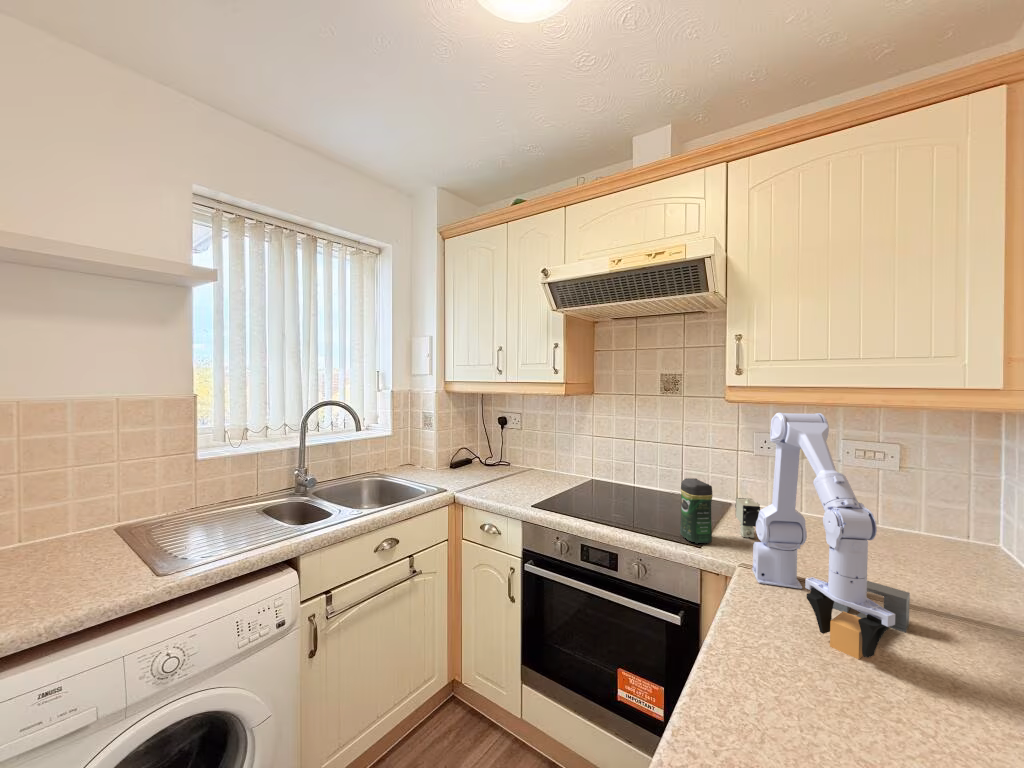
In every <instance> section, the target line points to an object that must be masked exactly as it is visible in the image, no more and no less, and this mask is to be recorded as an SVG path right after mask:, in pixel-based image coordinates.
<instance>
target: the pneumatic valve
mask: <svg viewBox="0 0 1024 768" xmlns="http://www.w3.org/2000/svg"><path fill="white" fill-rule="evenodd" d="M734 505H735V506H734V507H735V518H736V519H737V520H738V521H739V522H740V524H739V526H740V529H739V530H740V531H739V534H740V535H741V537H742V538H743V537H745V538H748V537H750V538H751V539H755V535H754V534H755V531H756V521H757V519H758V515H759V511H760V510H761V507H760V503H759V502H755V501H754V500H753V499H752V498H748V497H747V498H746V497H745V498H744V497H736V498H735V504H734Z"/></svg>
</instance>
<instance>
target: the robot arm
mask: <svg viewBox="0 0 1024 768" xmlns="http://www.w3.org/2000/svg"><path fill="white" fill-rule="evenodd" d="M769 430H770V432H769V438H770V439H769V440H770V443H774V444H775V456H774V472H773V482H772V483H773V484H772V485H773V487H772V500H771V504H768V505H767V506H765V507H763V508H760V511H759V515H758V519H757V521H756V527H755V533H756V535H757V538H758V540H759V541H754V542H753V546H752V569H751V570H752V572H753V575H754V576H755V579H756V581H757V582H758V583H759V584H764V585H772V586H779V587H784V588H785V587H786V588H792V589H800V590H801V589H803V585H802V584H801V582H800V581H799V580H798V578H797V577H798V550H801V546H803V545H804V544H805V543H806V541H807V538H808V534H807V533H808V532H807V527H806V518H805V516H803V514H802V513H801V512H799V510H797V509H796V503H797V493H798V491H797V490H798V477H799V465H800V454H801V453H800V452H801V450H802V452H803V455H805V457H806V459H807V461H808V463H809V465H810V466H811V468H812V470H813V472H814V474H815V478H814V479H813V481H812V483H813V486H814V488H815V491H816V493H817V497H818V498H819V501H820V503H821V506H822V508H823V511H824V513H823V517H822V524H823V528H824V531H825V540H826V544H827V545H829V546H828V577H827V578H828V582H827V581H823V580H820V579H818V578H815V577H813V576H812V577H807V578H805V586H804V587H805V589H807V590H809V591H810V592H809V593H806V599H807V601H808V603H809V604H810V606H811V608H812V610H813V613H814V615H815V619H816V622H817V625H818V629H819V633H821V634H823V635H824V634H827V633H830V621H831V620H832V619H833V618H832V617H833V616H832V614H833V609H834V608H833V604H834V601H835V602H837V603H840V604H842V605H845V606H848V607H850V609H853V610H855V611H857V612H859V613H863V614H865V615H867V617H865V618H861V619H859V620H858V622H859V625H860V628H861V633H862V654H863V656H862V657H865V658H866V659H869V658H871V657H874V656H875V653H876V650H877V647H878V644H879V642H880V640H881V639H882V637H883V636H884V634H885V633H886V631H887V630H888V629H890V626H893V625H895V614H894V613H892V612H890V611H888V610H886V609H884V606H881V605H880V604H878V603H876V602H875V601H873V600H872V599H870V598H869V597H867V594H868V592H867V581H868V561H869V559H868V557H869V555H868V553H869V541H872V540H874V539H875V537H876V535H877V526H878V525H877V523H876V520H875V517H874V514H873V512H872V511H871V510H870V509H868V507H866V506H865V505H864V504H863V503H862V502H859V500H858V499H857V496H856V495H855V492H854V490H853V488H852V487H851V485H850V483H849V480H848V478H847V476H846V475H845V474H844V473H841V472H838V471H837V469H836V466H835V462H834V459H833V457H832V455H831V451H830V449H829V445H828V443H827V440H828V438H829V431H830V429H829V421H828V419H827V418H826V416H825V415H824V414H823V413H820V412H819V413H817V412H816V413H794V412H793V413H790V412H787V413H785V412H777V413H775V414H774V415H773V416H772V418H771V421H770V429H769Z"/></svg>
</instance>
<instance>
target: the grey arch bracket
mask: <svg viewBox="0 0 1024 768" xmlns="http://www.w3.org/2000/svg"><path fill="white" fill-rule="evenodd" d="M867 593H871V594H874V595H878V596H881V597H883V608H884V609H886V610H888V611H890V612H892V613H894V614H895V625H893V626H890V627H889V629H890V628H891V629H894V630H897V631H900V632H903V633H907V631H908V629H909V626H910V603H911V601H910V599H911V598H910V596H911V595H910V594H911V593H910V592H909V591H906V590H901V589H899V588H894V587H890V586H887V585H884V584H880V583H876V582H873V581H870V580H867ZM833 609H834V610H837V611H840V612H843V611H844V612H847V613H849V611H851V608H850V607H848V606H845V605H842V604H840V603H837V602H835V601H834V604H833Z"/></svg>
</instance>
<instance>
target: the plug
mask: <svg viewBox="0 0 1024 768" xmlns="http://www.w3.org/2000/svg"><path fill="white" fill-rule="evenodd" d="M865 617H867V615H865V614H863V613H861V612H859V613H858V614H857V615H854V614H852V613H849V612H848V613H847V612H844V611H841V612H840V613H839V614H837V615H836V616H835V617H834V618H832V619H831V621H830V632H829V647H830V648H831V649H834V650H836V651H839V652H840V653H844V654H845V655H848V656H849V657H852V658H854V659H857V660H861V658H862V657H864V656H863V654H862V633H861V628H860V625H859V622H858V620H859V619H861V618H865Z"/></svg>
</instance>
